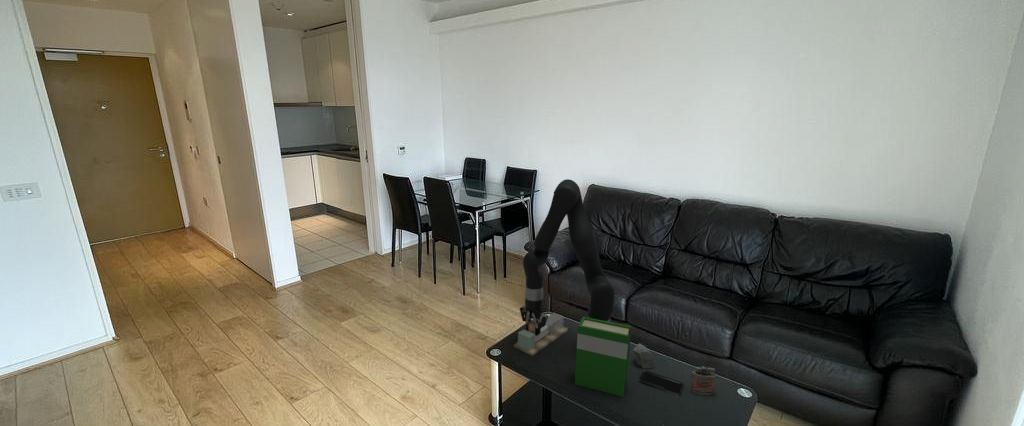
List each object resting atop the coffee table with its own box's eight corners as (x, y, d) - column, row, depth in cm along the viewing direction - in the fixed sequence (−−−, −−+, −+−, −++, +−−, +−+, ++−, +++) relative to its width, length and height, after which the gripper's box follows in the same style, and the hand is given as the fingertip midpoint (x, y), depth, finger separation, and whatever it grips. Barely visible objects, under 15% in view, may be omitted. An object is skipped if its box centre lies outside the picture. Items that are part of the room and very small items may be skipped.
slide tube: (544, 328, 192) (545, 311, 190) (552, 331, 189) (552, 314, 187) (521, 343, 179) (521, 326, 177) (528, 347, 177) (529, 329, 175)
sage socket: (523, 342, 182) (523, 329, 181) (534, 347, 178) (534, 334, 177) (517, 346, 180) (518, 332, 178) (529, 351, 176) (529, 337, 174)
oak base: (550, 323, 201) (550, 321, 200) (568, 330, 194) (568, 328, 194) (513, 346, 181) (513, 344, 180) (532, 355, 174) (532, 353, 174)
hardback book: (626, 384, 157) (631, 326, 151) (623, 396, 151) (628, 336, 145) (579, 372, 164) (582, 316, 158) (574, 384, 157) (578, 325, 151)
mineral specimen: (638, 354, 175) (644, 339, 172) (654, 369, 169) (660, 353, 165) (626, 359, 171) (631, 343, 168) (642, 374, 165) (648, 358, 161)
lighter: (690, 393, 153) (694, 369, 150) (688, 387, 156) (691, 363, 154) (714, 396, 152) (718, 371, 149) (711, 390, 155) (715, 366, 152)
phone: (644, 370, 165) (684, 383, 157) (643, 372, 165) (684, 385, 157) (638, 380, 158) (680, 395, 151) (637, 383, 159) (679, 397, 151)
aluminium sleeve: (553, 323, 199) (554, 312, 197) (563, 327, 195) (563, 316, 194) (541, 331, 191) (541, 320, 190) (550, 335, 188) (551, 324, 187)
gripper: (515, 294, 179) (514, 330, 183) (542, 304, 170) (541, 342, 174) (526, 288, 184) (525, 324, 189) (553, 298, 175) (551, 335, 180)
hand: (533, 332), depth 181 cm, fingers closed on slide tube, 4 cm apart
